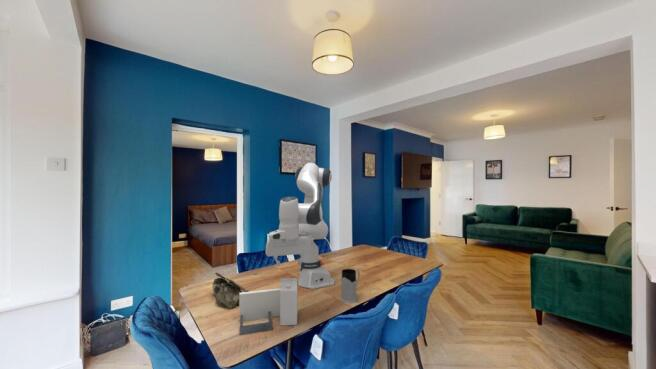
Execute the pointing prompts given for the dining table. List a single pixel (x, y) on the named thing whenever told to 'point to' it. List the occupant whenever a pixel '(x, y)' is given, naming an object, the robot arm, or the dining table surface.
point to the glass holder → (349, 285)
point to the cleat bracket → (256, 326)
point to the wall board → (260, 304)
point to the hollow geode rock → (227, 291)
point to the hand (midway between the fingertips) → (289, 264)
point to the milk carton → (288, 301)
